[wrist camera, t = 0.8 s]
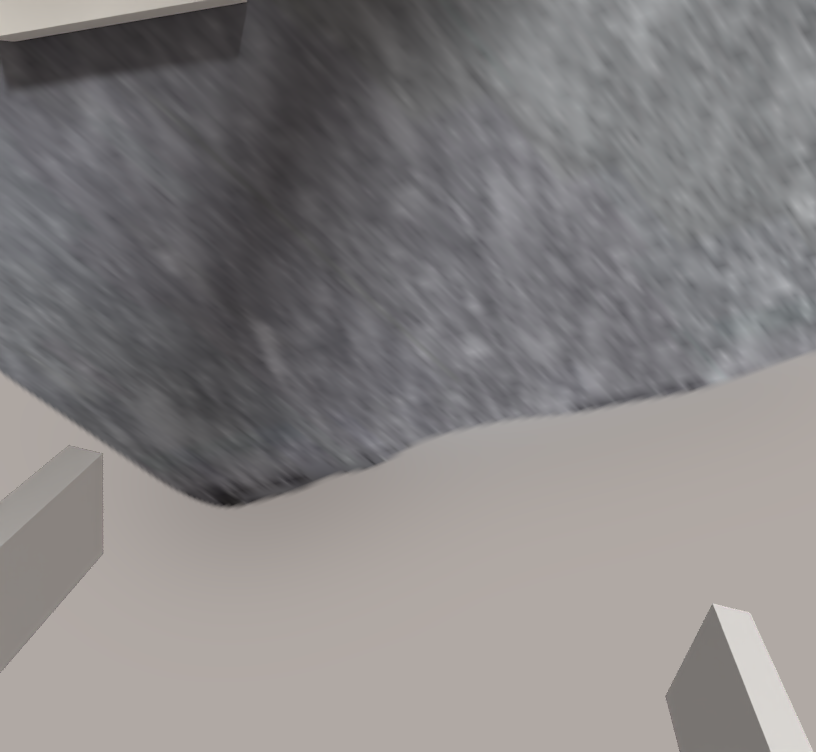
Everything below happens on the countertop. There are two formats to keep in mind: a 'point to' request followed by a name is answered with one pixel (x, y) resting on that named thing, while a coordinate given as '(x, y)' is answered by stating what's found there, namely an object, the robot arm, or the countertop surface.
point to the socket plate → (86, 14)
